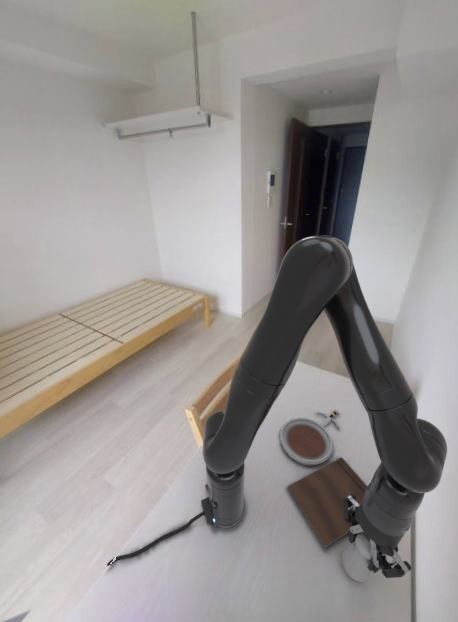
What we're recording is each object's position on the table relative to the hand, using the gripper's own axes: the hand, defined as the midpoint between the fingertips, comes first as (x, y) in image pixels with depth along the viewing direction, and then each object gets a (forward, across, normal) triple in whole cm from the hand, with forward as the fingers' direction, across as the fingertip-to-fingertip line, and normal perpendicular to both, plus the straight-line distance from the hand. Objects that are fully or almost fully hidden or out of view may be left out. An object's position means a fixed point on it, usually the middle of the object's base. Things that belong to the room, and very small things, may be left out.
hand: (362, 553), depth 56 cm
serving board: (+10, -14, +7) cm, 18 cm away
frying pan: (+10, -32, +16) cm, 37 cm away
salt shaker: (+8, 0, 0) cm, 8 cm away
